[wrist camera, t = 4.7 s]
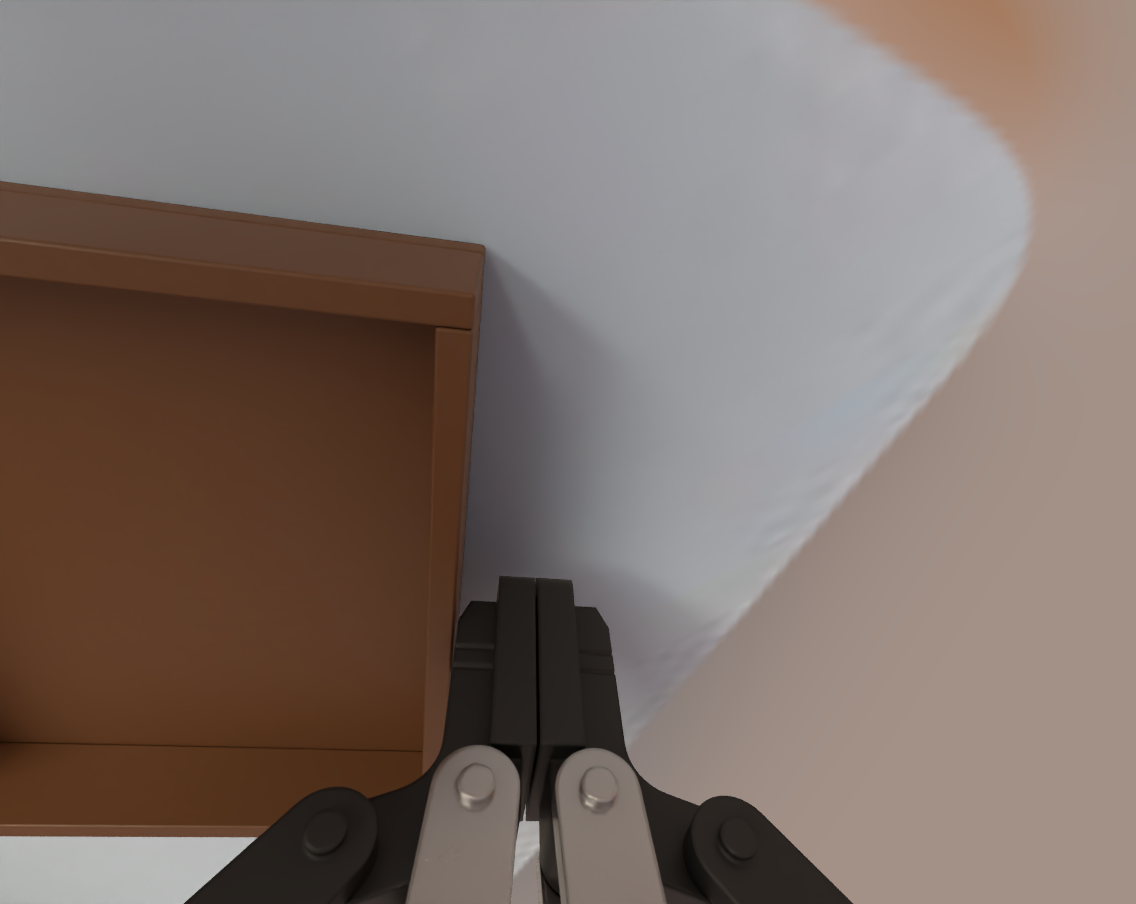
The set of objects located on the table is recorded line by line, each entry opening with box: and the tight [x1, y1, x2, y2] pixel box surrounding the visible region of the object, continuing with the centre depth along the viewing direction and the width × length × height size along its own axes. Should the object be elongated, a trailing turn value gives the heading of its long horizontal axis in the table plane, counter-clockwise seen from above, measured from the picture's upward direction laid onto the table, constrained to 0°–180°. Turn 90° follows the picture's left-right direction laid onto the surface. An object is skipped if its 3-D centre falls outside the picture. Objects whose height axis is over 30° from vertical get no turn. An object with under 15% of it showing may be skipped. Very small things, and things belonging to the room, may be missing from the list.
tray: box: [0, 181, 485, 837], centre depth 12 cm, size 14×12×2 cm
